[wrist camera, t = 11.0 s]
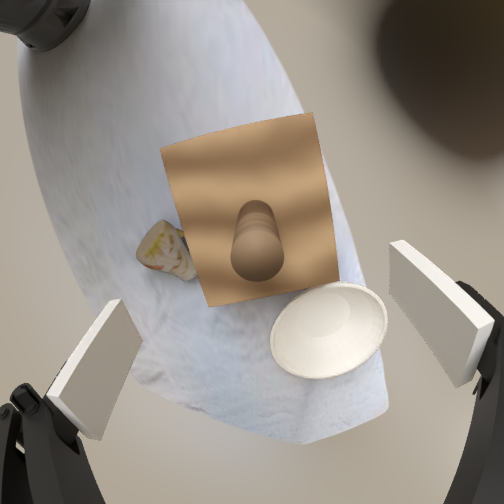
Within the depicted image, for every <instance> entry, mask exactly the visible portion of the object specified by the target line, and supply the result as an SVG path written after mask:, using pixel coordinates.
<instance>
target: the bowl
mask: <svg viewBox="0 0 504 504" xmlns="http://www.w3.org/2000/svg"><path fill="white" fill-rule="evenodd" d="M387 324H388V318H387V311H386V308H385V305H384V304H383V302H382V301H381V299H380V298H379V297H378V296H377V295H376V294H375V293H373V292H372V291H371V290H369V289H367V288H365V287H363V286H361V285H358V284H354V283H350V282H338V281H337V282H333V283H329V284H324V285H320V286H315V287H311V288H309V289H307V290H305V291H303V292H301V293H300V294H298V295H297V296H296V297H294V298H293V299H291V300H290V301H289V302H288V303H287V304H286V306H285V307H284V308H283V309H282V310H281V312H280V313H279V315H278V316H277V318H276V320H275V322H274V325H273V327H272V330H271V335H270V349H271V353H272V355H273V357H274V359H275V361H276V362H277V363H278V364H279V366H281V367H282V368H283V369H284V370H286V371H287V372H289V373H291V374H293V375H296V376H299V377H302V378H309V379H325V378H331V377H335V376H339V375H342V374H345V373H347V372H349V371H351V370H353V369H355V368H357V367H358V366H360V365H361V364H363V363H364V362H365V361H366V360H367V359H369V358H370V357H371V356H372V355H373V354H374V352H375V351H376V350H377V349H378V347H379V346H380V344H381V342H382V341H383V339H384V336H385V333H386V330H387Z"/></svg>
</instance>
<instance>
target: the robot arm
mask: <svg viewBox="0 0 504 504" xmlns="http://www.w3.org/2000/svg"><path fill="white" fill-rule="evenodd" d="M89 1H90V0H0V32H4V33H9V34H13V35H16V36H17V37H18V38H19V39H20V40H21V41H22V42H23V43H24V44H25V45H26V46H27V47H28V48H30V49H32V50H36V51H47V50H50V49H52V48H54V47H55V46H57V45H58V44H60V43H61V42H62V41H64V40H65V39H66V38H67V37H68V36H69V35H70V34H71V33H72V32H73V31H74V29H75V28H76V27H77V26H78V24H79V23H80V21H81V20H82V18H83V17H84V15H85V13H86V11H87V8H88V5H89ZM389 247H390V249H389V250H390V289H389V292H390V295H391V296H392V297H393V299H394V300H395V301H396V302H397V304H398V305H399V306H400V308H401V309H402V310H403V312H404V313H405V314H406V316H407V317H408V318H409V320H410V321H411V323H412V324H413V325H414V327H415V328H416V329H417V331H418V332H419V333H420V335H421V336H422V338H423V339H424V341H425V342H426V343H427V345H428V346H429V348H430V349H431V351H432V352H433V354H434V355H435V357H436V358H437V360H438V361H439V363H440V364H441V366H442V367H443V369H444V370H445V372H446V373H447V375H448V376H449V378H450V380H451V381H452V383H453V384H454V386H455V388H458V387H460V386H462V385H464V384H466V383H467V382H469V381H471V380H472V379H473V376H474V374H475V372H476V370H477V369H478V371H479V372H480V374H481V377H480V379H479V381H478V383H477V385H476V387H475V389H474V391H473V394H474V395H475V393H476V391H477V396H476V402H475V407H474V411H473V417H472V421H471V425H470V429H469V433H468V437H467V440H466V444H465V447H464V451H463V454H462V457H461V460H460V463H459V466H458V469H457V472H456V474H455V477H454V480H453V482H452V485H451V487H450V490H449V492H448V494H447V497H446V499H445V501H444V503H443V504H504V317H503V315H502V314H501V313H500V312H499V311H497V310H496V309H495V308H494V307H493V306H492V305H491V304H490V303H489V302H488V301H487V300H486V299H485V300H484V298H483V297H482V296H481V295H480V294H478V292H477V291H476V290H474V288H472V287H471V286H470V285H468V284H466V283H463V282H461V281H458V282H454V281H453V280H452V279H451V278H449V277H448V276H447V275H446V274H445V273H444V272H442V271H441V270H440V269H439V268H438V267H436V266H435V265H434V264H433V263H432V262H431V261H429V260H428V259H427V258H426V257H424V256H423V255H422V254H421V253H419V252H418V251H417V250H416V249H414V248H413V247H412V246H411V245H409V244H408V243H407V242H406V241H404V240H399V241H396V242H391V243H389ZM142 342H143V340H142V338H141V336H140V334H139V332H138V331H137V329H136V327H135V325H134V323H133V321H132V319H131V317H130V315H129V313H128V311H127V309H126V307H125V305H124V303H123V301H122V299H116V300H110V301H109V302H108V304H107V305H106V306H105V308H104V309H103V310H102V312H101V313H100V314H99V316H98V317H97V319H96V320H95V321H94V323H93V324H92V326H91V327H90V329H89V330H88V331H87V333H86V334H85V336H84V337H83V339H82V340H81V341H80V343H79V344H78V346H77V347H76V349H75V350H74V352H73V353H72V355H71V356H70V358H69V359H68V360H67V361H66V362H65V364H64V365H63V367H62V368H61V371H59V373H58V374H57V378H55V379H54V381H53V382H52V384H51V386H50V387H49V389H48V391H47V392H46V394H45V396H44V397H43V399H42V398H41V397H40V396H39V395H38V394H37V392H36V391H35V390H34V389H33V387H31V385H30V384H29V383H24V384H21V385H19V386H18V387H17V388H16V389H15V390H14V391H13V392H12V394H11V396H10V401H11V402H12V403H13V404H14V405H15V407H16V408H17V409H18V410H19V411H17V410H16V408H15V407H14V406H13V405H12V404H10V403H6V404H4V405H2V407H0V504H106V503H105V501H104V499H103V497H102V495H101V492H100V490H99V488H98V485H97V483H96V480H95V478H94V475H93V473H92V470H91V467H90V465H89V462H88V459H87V456H86V453H85V450H84V447H83V444H82V441H81V439H80V438H79V437H78V436H77V433H78V431H80V432H81V433H83V434H84V435H85V436H86V437H87V438H89V439H94V440H99V441H101V439H102V436H103V434H104V431H105V428H106V426H107V423H108V421H109V418H110V416H111V413H112V411H113V408H114V406H115V403H116V401H117V398H118V396H119V394H120V391H121V389H122V387H123V384H124V382H125V380H126V377H127V375H128V373H129V370H130V368H131V366H132V364H133V361H134V359H135V357H136V355H137V353H138V350H139V348H140V346H141V344H142ZM16 442H18V444H20V445H21V446H22V447H23V448H24V449H25V454H24V453H22V452H21V451H20V450H18V449H17V448H16Z"/></svg>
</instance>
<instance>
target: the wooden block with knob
mask: <svg viewBox="0 0 504 504" xmlns="http://www.w3.org/2000/svg"><path fill="white" fill-rule="evenodd" d="M160 152H161V156H162V160H163V163H164V167H165V171H166V174H167V178H168V182H169V185H170V189H171V192H172V196H173V199H174V203H175V206H176V209H177V213H178V216H179V219H180V223H181V226H182V229H183V232H184V235H185V239H186V242H187V245H188V248H189V251H190V254H191V257H192V260H193V263H194V266H195V269H196V272H197V275H198V278H199V281H200V284H201V287H202V290H203V292H204V295H205V298H206V301H207V304H208V306H209V307H214V306H220V305H226V304H231V303H237V302H242V301H247V300H252V299H258V298H263V297H268V296H273V295H278V294H283V293H287V292H292V291H297V290H302V289H306V288H311V287H315V286H320V285H324V284H329V283H333V282H337V281H339V270H338V261H337V252H336V243H335V235H334V227H333V220H332V213H331V206H330V200H329V194H328V187H327V182H326V176H325V170H324V165H323V159H322V154H321V149H320V144H319V140H318V135H317V130H316V126H315V121H314V117H313V113H312V112H311V113H304V114H298V115H292V116H286V117H280V118H275V119H270V120H265V121H260V122H255V123H250V124H246V125H242V126H237V127H233V128H229V129H225V130H221V131H217V132H213V133H210V134H206V135H202V136H199V137H195V138H192V139H188V140H185V141H182V142H179V143H175V144H172V145H169V146H166V147H163V148H160Z"/></svg>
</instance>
